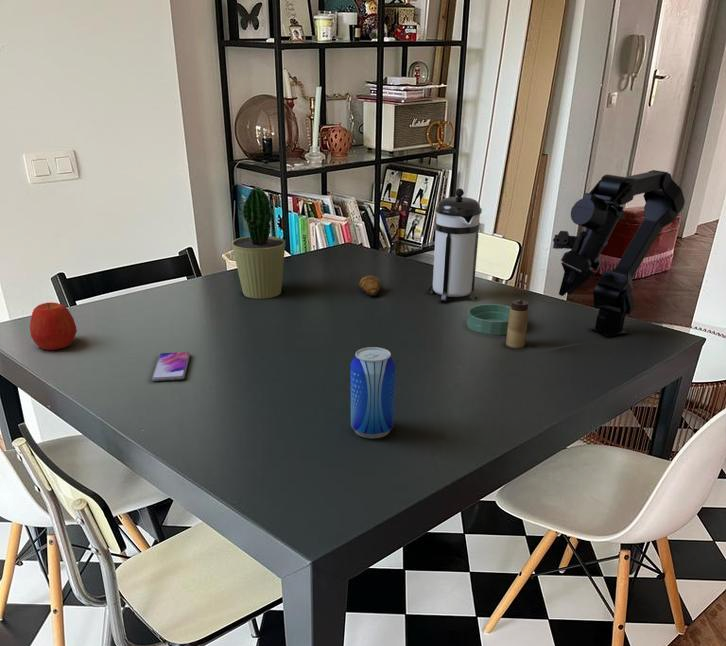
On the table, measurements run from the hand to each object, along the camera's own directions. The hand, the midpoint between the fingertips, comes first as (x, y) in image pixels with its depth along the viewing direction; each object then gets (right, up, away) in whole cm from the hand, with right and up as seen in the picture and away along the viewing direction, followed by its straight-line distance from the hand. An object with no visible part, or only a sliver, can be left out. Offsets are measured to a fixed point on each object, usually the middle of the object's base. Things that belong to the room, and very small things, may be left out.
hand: (564, 294), depth 177 cm
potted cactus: (-79, +11, +41) cm, 90 cm away
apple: (-125, -12, +4) cm, 125 cm away
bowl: (-14, -4, +16) cm, 22 cm away
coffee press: (-23, +10, +40) cm, 47 cm away
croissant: (-47, +12, +42) cm, 64 cm away
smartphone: (-93, -19, -8) cm, 96 cm away
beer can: (-47, -36, -34) cm, 68 cm away
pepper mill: (-11, -12, +5) cm, 17 cm away
